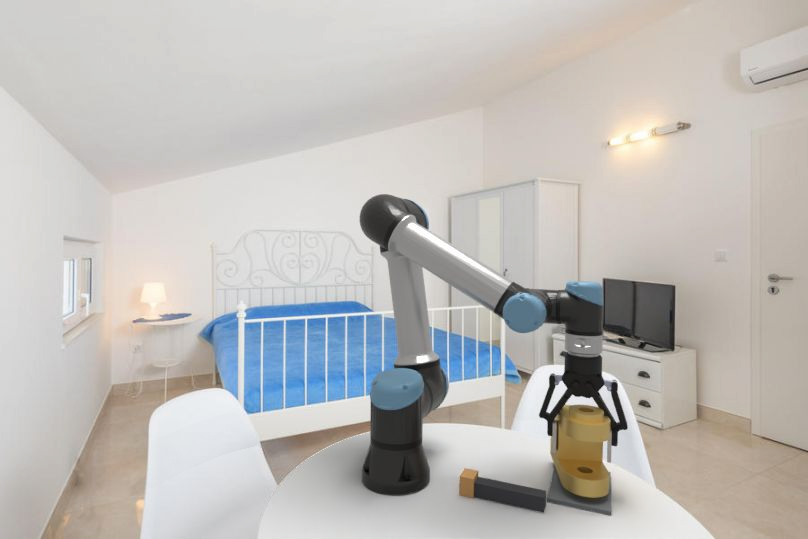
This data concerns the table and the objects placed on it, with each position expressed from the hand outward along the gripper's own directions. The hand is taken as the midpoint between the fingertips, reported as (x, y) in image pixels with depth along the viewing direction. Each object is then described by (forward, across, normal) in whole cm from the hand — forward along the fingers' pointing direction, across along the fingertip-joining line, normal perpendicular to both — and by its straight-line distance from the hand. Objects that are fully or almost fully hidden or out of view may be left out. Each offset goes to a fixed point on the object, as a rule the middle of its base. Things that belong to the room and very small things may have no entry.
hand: (581, 455), depth 99 cm
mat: (+7, 0, 0) cm, 7 cm away
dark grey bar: (+7, -15, -12) cm, 20 cm away
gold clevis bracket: (+5, 0, +2) cm, 5 cm away
